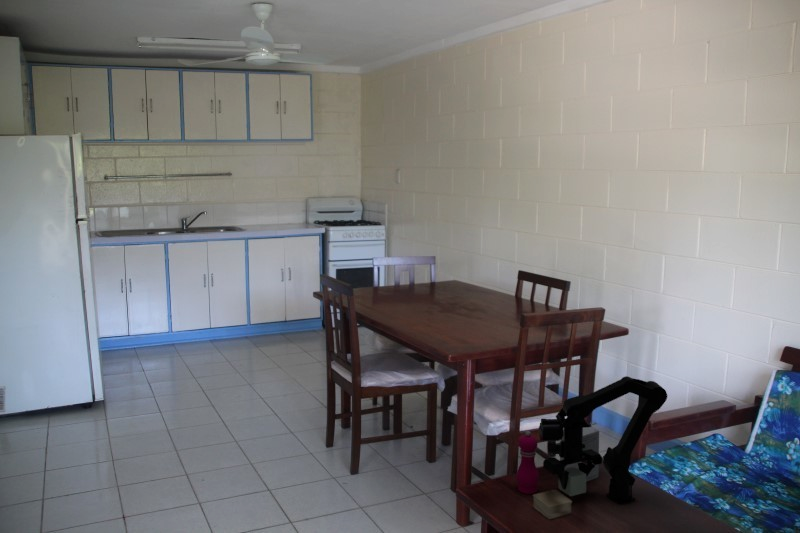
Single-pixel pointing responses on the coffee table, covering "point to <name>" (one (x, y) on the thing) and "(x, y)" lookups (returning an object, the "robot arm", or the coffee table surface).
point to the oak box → (552, 504)
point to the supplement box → (590, 443)
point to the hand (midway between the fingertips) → (572, 487)
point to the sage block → (575, 482)
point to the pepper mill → (527, 464)
